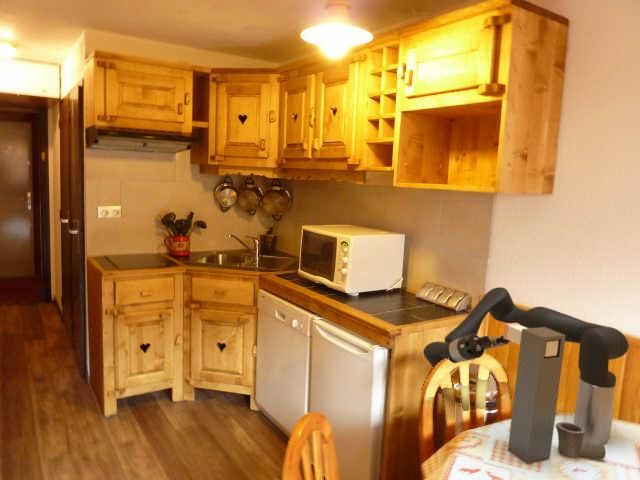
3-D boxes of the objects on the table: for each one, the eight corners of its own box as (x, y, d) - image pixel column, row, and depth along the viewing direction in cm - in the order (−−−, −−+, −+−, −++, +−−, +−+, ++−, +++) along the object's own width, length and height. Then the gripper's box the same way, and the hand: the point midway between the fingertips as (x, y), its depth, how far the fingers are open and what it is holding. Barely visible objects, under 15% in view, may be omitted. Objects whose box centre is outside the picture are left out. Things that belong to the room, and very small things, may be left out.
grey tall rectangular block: (529, 445, 140) (544, 327, 136) (549, 459, 134) (565, 335, 129) (507, 450, 137) (522, 328, 133) (527, 464, 131) (542, 337, 126)
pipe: (606, 465, 133) (610, 437, 132) (555, 457, 135) (559, 429, 134) (598, 453, 139) (602, 426, 138) (549, 445, 141) (553, 419, 140)
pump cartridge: (514, 337, 143) (516, 322, 143) (557, 355, 130) (559, 340, 129) (503, 338, 142) (504, 323, 141) (544, 357, 128) (546, 341, 127)
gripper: (445, 338, 159) (477, 327, 145) (481, 335, 164) (515, 324, 150) (450, 362, 156) (483, 353, 142) (486, 358, 161) (522, 349, 147)
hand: (499, 338), depth 146 cm, fingers open, 8 cm apart
